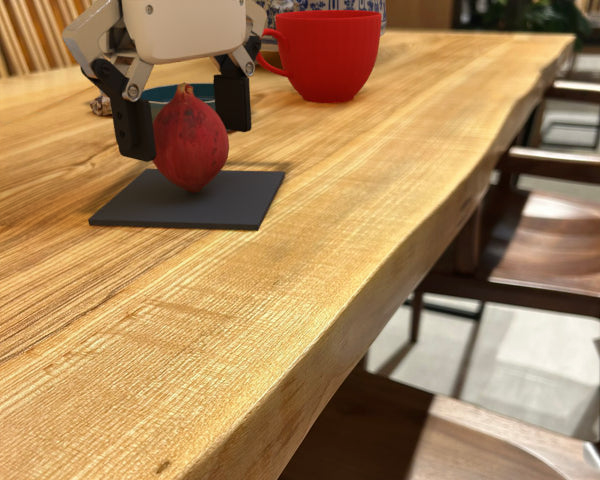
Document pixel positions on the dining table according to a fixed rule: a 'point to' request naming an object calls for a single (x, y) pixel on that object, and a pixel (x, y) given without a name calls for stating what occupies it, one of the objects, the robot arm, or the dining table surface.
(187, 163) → the onion
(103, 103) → the mineral rock
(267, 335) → the dining table surface
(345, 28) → the ceramic cup
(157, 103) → the teal bowl
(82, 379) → the dining table surface
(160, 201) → the mat
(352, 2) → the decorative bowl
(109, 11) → the robot arm
